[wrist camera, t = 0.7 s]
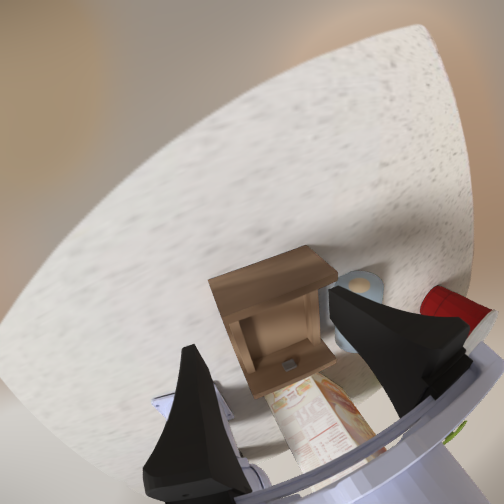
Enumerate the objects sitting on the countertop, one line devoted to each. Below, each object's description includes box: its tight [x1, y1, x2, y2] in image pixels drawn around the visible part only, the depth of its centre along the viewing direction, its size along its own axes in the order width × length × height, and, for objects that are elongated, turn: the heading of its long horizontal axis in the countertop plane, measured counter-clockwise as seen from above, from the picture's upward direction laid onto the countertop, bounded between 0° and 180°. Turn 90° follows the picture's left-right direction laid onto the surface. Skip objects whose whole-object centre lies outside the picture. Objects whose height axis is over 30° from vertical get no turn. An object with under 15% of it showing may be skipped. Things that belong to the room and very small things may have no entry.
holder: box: [208, 245, 338, 399], centre depth 24 cm, size 12×9×5 cm
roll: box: [335, 271, 384, 353], centre depth 27 cm, size 8×5×5 cm, turn 12°
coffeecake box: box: [264, 372, 387, 492], centre depth 27 cm, size 15×7×20 cm, turn 38°
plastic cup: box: [420, 286, 498, 356], centre depth 32 cm, size 11×11×12 cm
